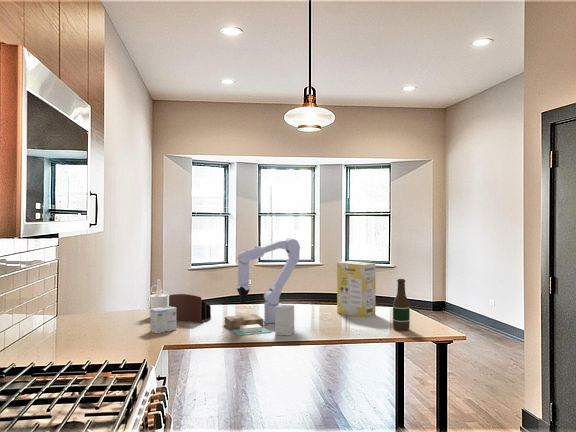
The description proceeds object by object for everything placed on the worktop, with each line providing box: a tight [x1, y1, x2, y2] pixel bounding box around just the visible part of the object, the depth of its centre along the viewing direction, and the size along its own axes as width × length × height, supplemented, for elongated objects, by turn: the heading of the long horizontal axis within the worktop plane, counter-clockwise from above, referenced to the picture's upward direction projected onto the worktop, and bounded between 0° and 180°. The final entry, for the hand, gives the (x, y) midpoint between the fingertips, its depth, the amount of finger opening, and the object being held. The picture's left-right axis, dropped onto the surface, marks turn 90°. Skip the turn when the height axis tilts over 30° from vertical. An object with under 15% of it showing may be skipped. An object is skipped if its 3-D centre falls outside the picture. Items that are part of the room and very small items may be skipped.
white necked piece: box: [149, 279, 171, 309], centre depth 270 cm, size 10×9×20 cm
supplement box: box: [274, 304, 296, 336], centre depth 232 cm, size 7×7×13 cm
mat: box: [231, 326, 272, 337], centre depth 236 cm, size 16×11×1 cm
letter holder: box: [169, 293, 212, 324], centre depth 262 cm, size 10×20×14 cm, turn 68°
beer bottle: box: [392, 278, 411, 332], centre depth 240 cm, size 8×8×24 cm
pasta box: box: [336, 260, 376, 319], centre depth 277 cm, size 18×10×28 cm, turn 44°
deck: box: [224, 313, 264, 331], centre depth 248 cm, size 16×12×4 cm
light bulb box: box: [149, 305, 178, 334], centre depth 238 cm, size 11×7×11 cm, turn 134°
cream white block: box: [240, 324, 262, 333], centre depth 237 cm, size 9×6×2 cm, turn 112°
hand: (242, 302), depth 254 cm, fingers closed
